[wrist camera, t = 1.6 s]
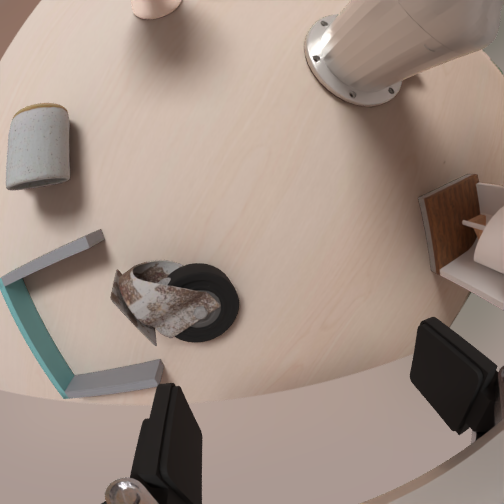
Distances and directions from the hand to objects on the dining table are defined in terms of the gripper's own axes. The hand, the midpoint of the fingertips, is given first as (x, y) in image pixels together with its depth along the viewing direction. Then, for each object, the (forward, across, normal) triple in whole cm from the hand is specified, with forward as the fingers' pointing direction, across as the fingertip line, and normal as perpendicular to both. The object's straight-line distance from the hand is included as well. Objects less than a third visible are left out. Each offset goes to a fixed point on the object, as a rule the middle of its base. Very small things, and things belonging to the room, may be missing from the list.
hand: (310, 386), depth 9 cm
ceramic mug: (+22, +21, -16) cm, 34 cm away
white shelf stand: (+22, -28, +2) cm, 36 cm away
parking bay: (+21, +23, +5) cm, 31 cm away
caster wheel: (+22, +8, +3) cm, 23 cm away
